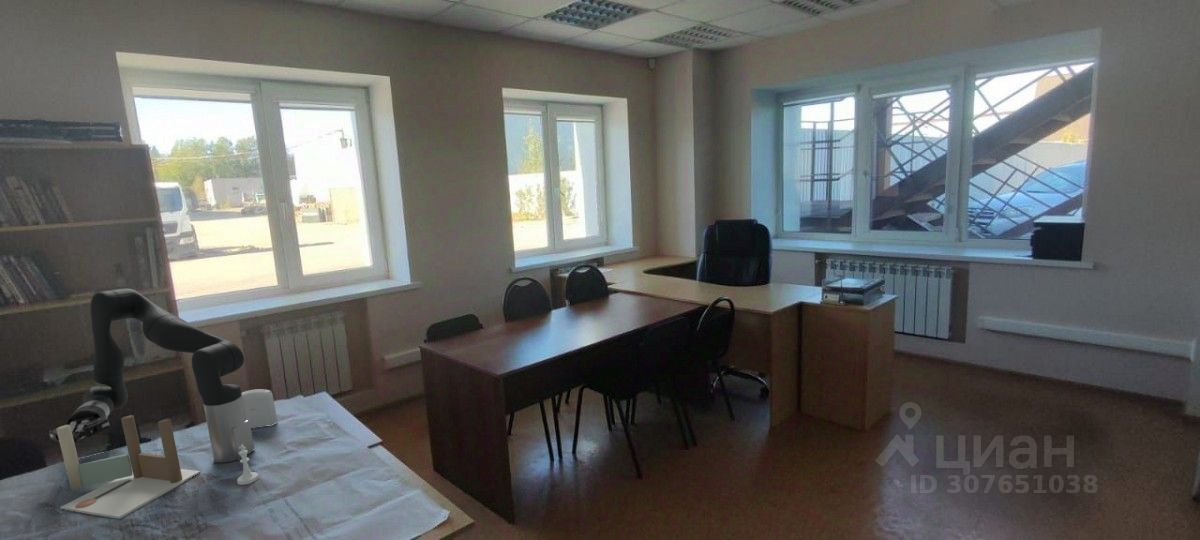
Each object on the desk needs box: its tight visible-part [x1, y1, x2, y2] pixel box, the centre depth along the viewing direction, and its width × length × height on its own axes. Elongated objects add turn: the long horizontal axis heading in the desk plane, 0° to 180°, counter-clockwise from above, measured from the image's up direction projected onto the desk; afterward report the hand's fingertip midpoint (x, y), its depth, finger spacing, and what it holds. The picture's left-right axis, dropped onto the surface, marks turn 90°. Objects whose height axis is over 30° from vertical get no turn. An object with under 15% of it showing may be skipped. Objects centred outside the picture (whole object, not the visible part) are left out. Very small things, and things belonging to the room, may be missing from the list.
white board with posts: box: [60, 414, 201, 520], centre depth 144 cm, size 20×20×18 cm
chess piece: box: [236, 445, 260, 486], centre depth 148 cm, size 5×5×10 cm
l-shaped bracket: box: [56, 424, 133, 491], centre depth 147 cm, size 13×3×17 cm, turn 116°
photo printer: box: [241, 388, 278, 429], centre depth 180 cm, size 10×4×12 cm, turn 100°
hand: (69, 442), depth 146 cm, fingers closed
